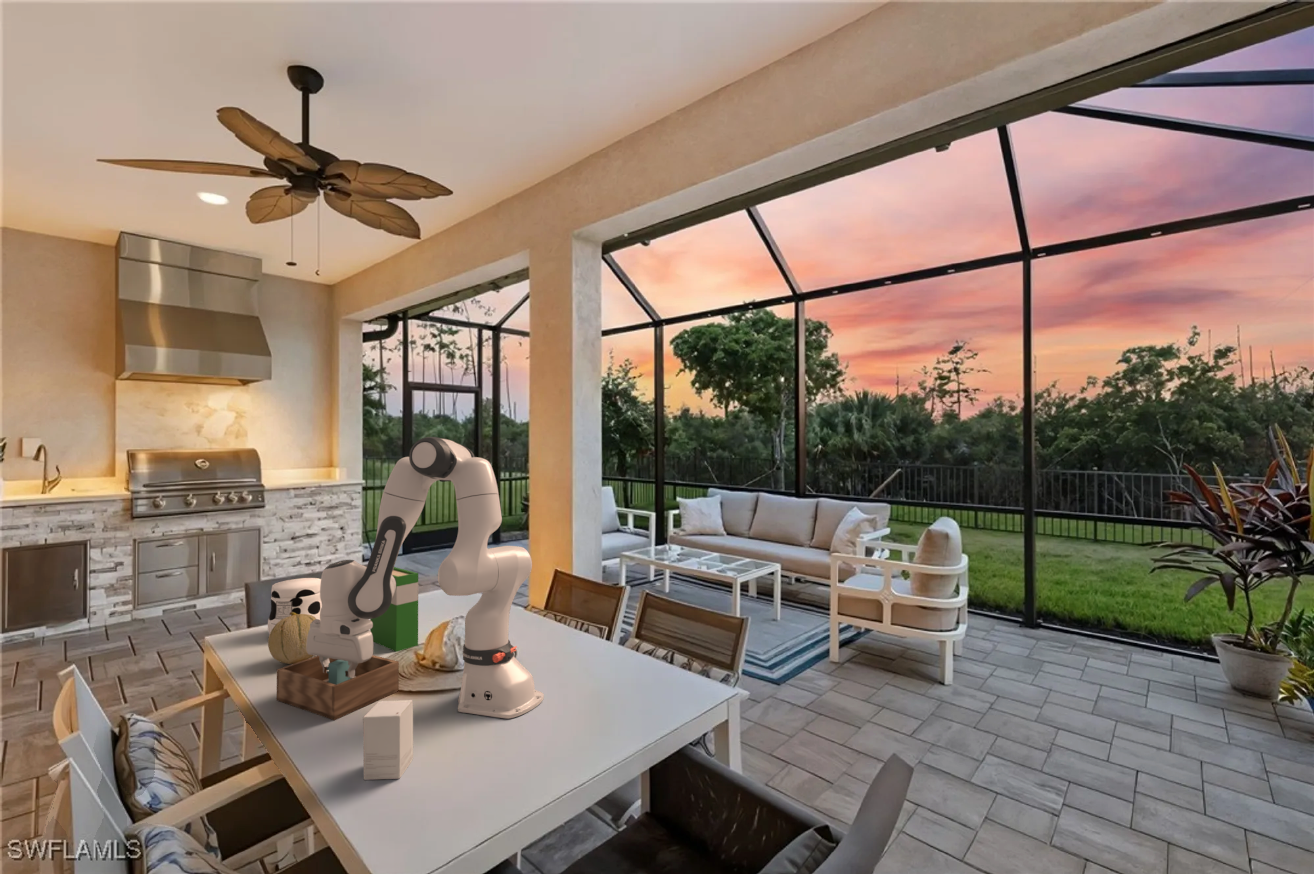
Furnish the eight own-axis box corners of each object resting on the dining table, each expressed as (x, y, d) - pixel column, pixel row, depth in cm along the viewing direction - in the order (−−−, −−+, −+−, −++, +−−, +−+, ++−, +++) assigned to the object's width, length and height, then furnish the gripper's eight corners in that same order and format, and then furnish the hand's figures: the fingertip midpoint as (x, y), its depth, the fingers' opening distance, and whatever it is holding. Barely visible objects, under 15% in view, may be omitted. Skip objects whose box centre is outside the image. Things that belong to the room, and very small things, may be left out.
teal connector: (349, 689, 151) (350, 659, 151) (336, 695, 147) (337, 664, 147) (341, 687, 152) (341, 657, 152) (328, 693, 148) (328, 663, 148)
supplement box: (414, 758, 119) (414, 698, 119) (399, 779, 112) (399, 715, 112) (379, 759, 119) (379, 699, 119) (361, 780, 111) (362, 716, 111)
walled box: (398, 691, 152) (398, 661, 152) (334, 720, 136) (334, 686, 136) (342, 675, 163) (342, 647, 163) (276, 700, 147) (276, 669, 147)
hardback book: (370, 640, 192) (370, 570, 192) (391, 634, 198) (391, 566, 198) (396, 651, 181) (396, 577, 182) (418, 645, 187) (418, 573, 188)
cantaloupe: (297, 673, 164) (297, 622, 164) (255, 669, 167) (255, 619, 167) (335, 654, 178) (335, 607, 179) (296, 651, 181) (296, 605, 182)
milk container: (321, 622, 211) (321, 574, 212) (329, 634, 198) (329, 583, 198) (265, 632, 200) (265, 582, 201) (270, 645, 187) (270, 591, 187)
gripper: (300, 621, 150) (299, 673, 150) (357, 630, 143) (357, 684, 143) (321, 614, 156) (321, 664, 156) (377, 622, 149) (377, 675, 149)
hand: (338, 674), depth 149 cm, fingers open, 7 cm apart
